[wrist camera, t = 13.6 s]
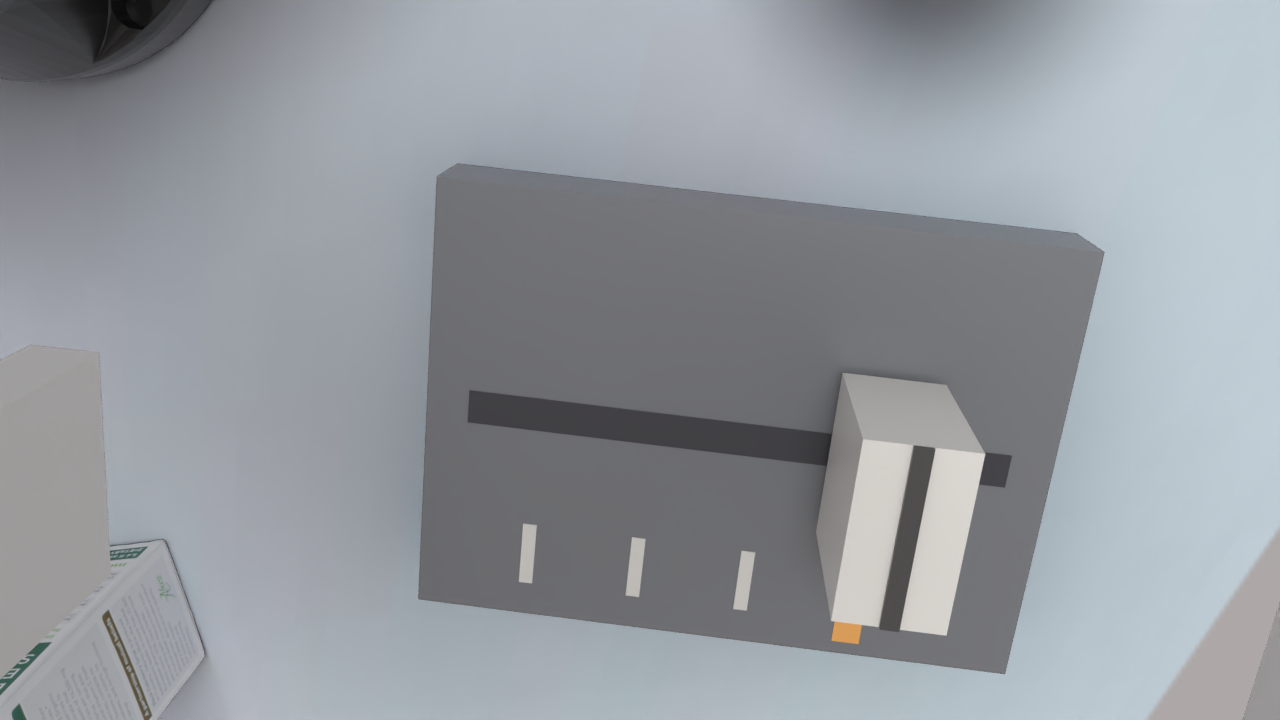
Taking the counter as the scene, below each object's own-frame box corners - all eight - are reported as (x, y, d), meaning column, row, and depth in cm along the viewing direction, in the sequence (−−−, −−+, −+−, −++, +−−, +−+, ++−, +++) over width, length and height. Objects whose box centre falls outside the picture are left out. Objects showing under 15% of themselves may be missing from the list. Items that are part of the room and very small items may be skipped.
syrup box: (167, 534, 46) (-73, 766, 32) (211, 659, 47) (2, 930, 34) (40, 554, 47) (-249, 789, 33) (88, 676, 48) (-167, 948, 34)
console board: (437, 561, 45) (418, 600, 42) (457, 163, 40) (436, 176, 37) (987, 630, 44) (1005, 674, 42) (1077, 233, 39) (1105, 252, 36)
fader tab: (815, 531, 40) (831, 623, 34) (842, 372, 38) (863, 441, 32) (915, 543, 40) (947, 638, 34) (946, 384, 38) (986, 455, 32)
